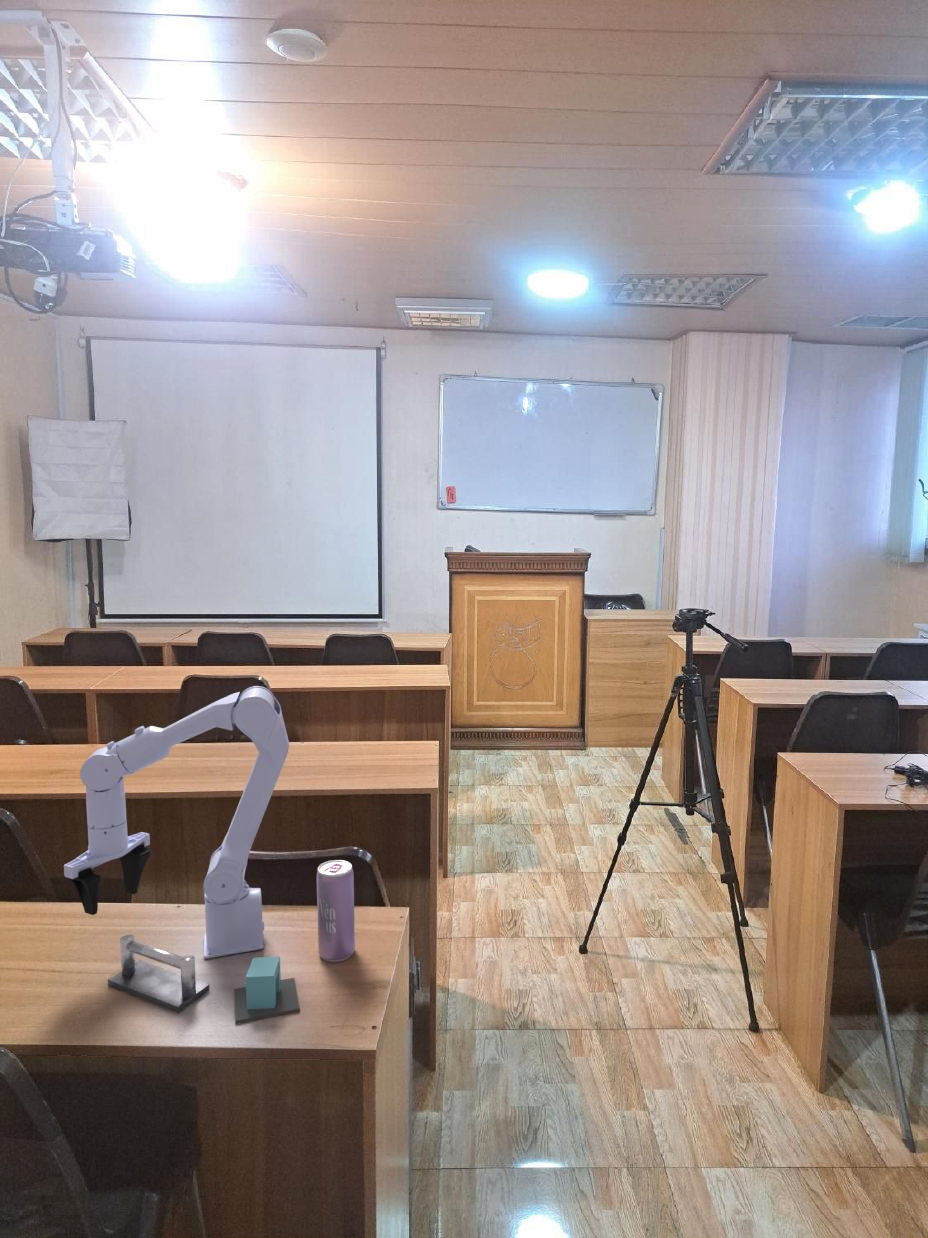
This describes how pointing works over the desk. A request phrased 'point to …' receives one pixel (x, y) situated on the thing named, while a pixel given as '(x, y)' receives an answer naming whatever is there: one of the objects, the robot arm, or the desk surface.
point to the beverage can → (335, 910)
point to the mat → (284, 1005)
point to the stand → (157, 976)
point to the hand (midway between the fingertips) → (111, 902)
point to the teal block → (263, 983)
